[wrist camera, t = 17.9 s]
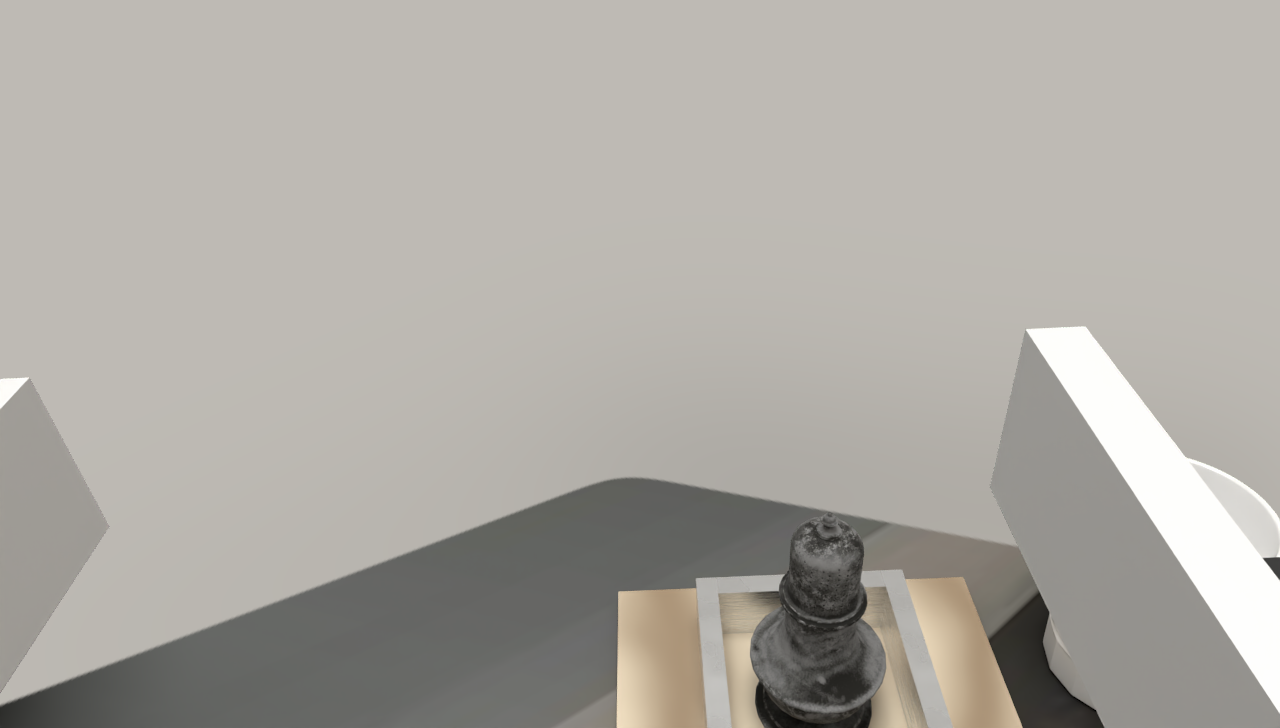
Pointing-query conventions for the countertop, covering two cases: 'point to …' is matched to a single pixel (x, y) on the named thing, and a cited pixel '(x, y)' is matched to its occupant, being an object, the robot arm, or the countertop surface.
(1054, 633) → the white cup
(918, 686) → the collar
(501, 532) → the countertop surface
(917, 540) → the countertop surface
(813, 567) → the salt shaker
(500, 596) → the countertop surface
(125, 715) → the countertop surface
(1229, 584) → the robot arm
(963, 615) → the flange board
